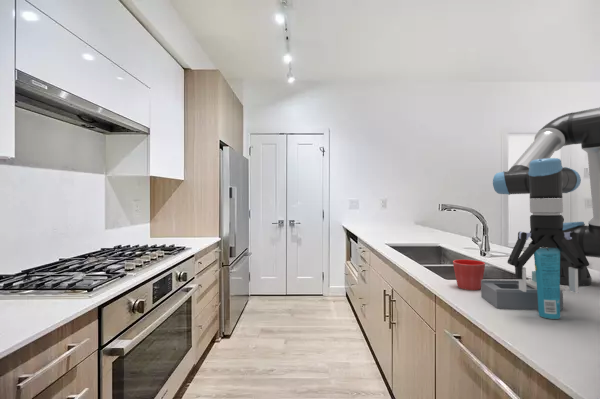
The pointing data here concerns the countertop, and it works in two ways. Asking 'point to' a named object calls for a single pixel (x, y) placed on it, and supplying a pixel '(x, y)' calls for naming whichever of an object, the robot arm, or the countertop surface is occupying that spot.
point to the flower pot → (469, 273)
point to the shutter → (533, 282)
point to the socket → (511, 295)
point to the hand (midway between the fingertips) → (547, 291)
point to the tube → (548, 282)
